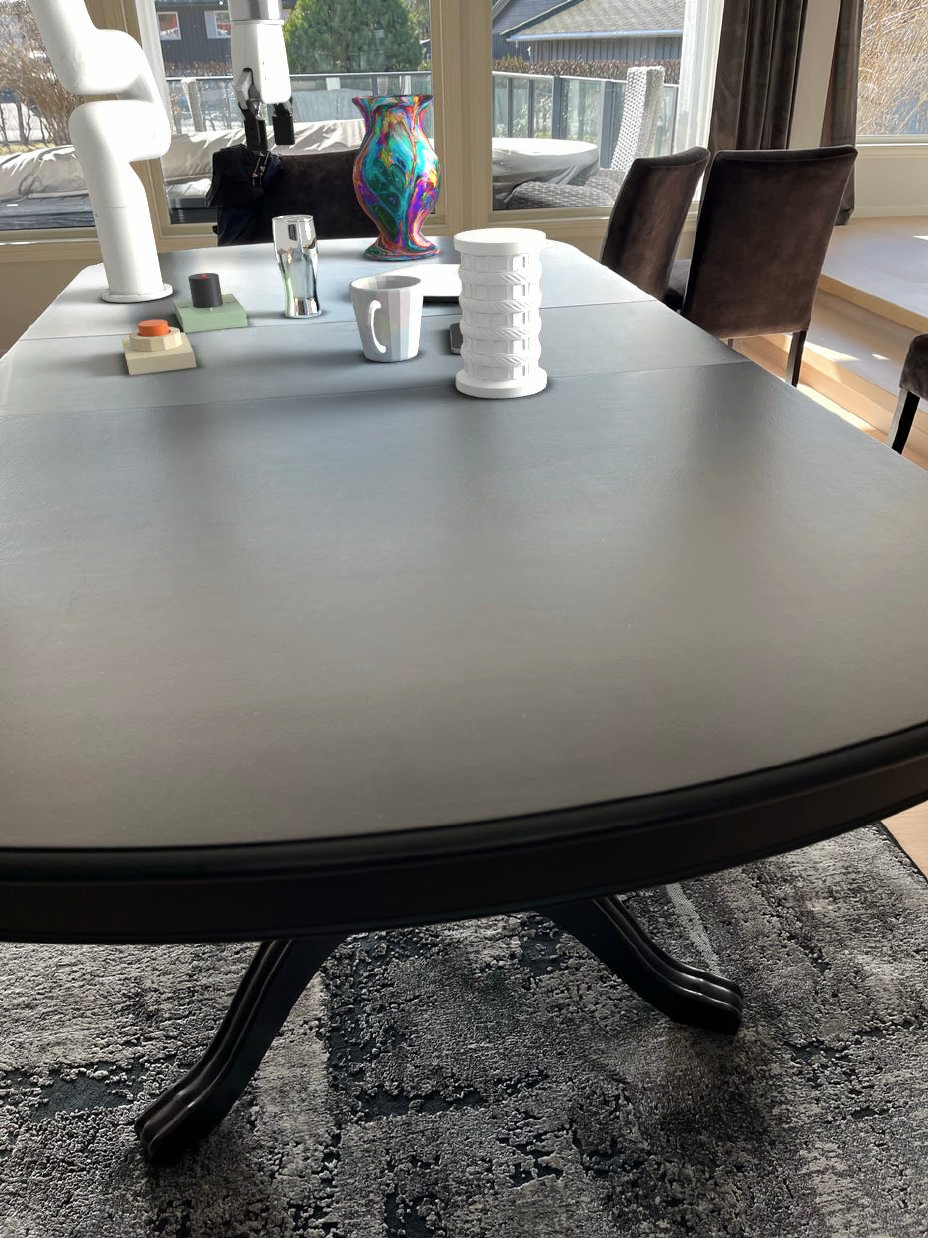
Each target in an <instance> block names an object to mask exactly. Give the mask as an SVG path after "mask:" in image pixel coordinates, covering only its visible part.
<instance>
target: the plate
mask: <svg viewBox="0 0 928 1238" xmlns="http://www.w3.org/2000/svg"><path fill="white" fill-rule="evenodd" d="M459 265H460V263H458V264H457V263H455V264H454V263H453V264H452V263H449V264H447V263H446V264H444V263H442V264H440V263H439V264H438V263H435V264H410V265H405V266H401V267H397V268H394V269H390V270H385V271H383V272H381V273H380V272H379V273H377V274H375V275H374V276H382V275H406V276H413V277H417V278H420V279H422V280H423V281H424V292H423V302H445V303H446V302H459V295H460V292H461V291H462V285H461V280H460V279H459V275H458V268H459Z"/></svg>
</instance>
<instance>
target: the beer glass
mask: <svg viewBox="0 0 928 1238" xmlns="http://www.w3.org/2000/svg"><path fill="white" fill-rule="evenodd" d="M271 221H272V240H273V249H274V250H273V251H274V256H275V261H276V264H277V268H278V271H279V274H280V278H281V281H282V286H283V289H284V297H285V298H284V299H285V301H284V302H285V303H284V316H285V317H287V318H291V319H308V318H314V317H317V316H320V315H321V314H322V313H323V312H322V311H323V310H322V307H321V304H320V300H319V296H318V285H317V284H318V269H319V268H318V266H319V265H318V264H319V248H318V237H317V231H316V226H315V221H314V216H313V215H309V214H291V215H290V214H289V215H281V216H280V215H279V216H275V217H273V218H272V219H271Z"/></svg>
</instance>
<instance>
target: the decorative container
mask: <svg viewBox="0 0 928 1238" xmlns="http://www.w3.org/2000/svg"><path fill="white" fill-rule="evenodd" d="M545 246H546V233H545V232H544V231H542V230H538V229H532V228H522V227H491V228H480V229H479V228H478V229H472V230H471V229H470V230H466V231H462V232H458V233H456V234H454V235H453V248H454V250H455V251H457V252H459V253H460V263H459V268H458V275H459V279H460V280H461V285H462V291H461V292H460V295H459V301H458V303H459V306H460V309H461V311H462V312H461V313H462V315H461V318H460V319H459V321H460V322H459V323H460V330H461V333H462V334H463V344H462V346H461V352H460V353H459V354H460V356H461V359H462V360H463V368H462V369H460V370H459V371H458V372H457V373H456V374H455V387H456V389H457V390H458V391H459V392H461V393H462V394H465V395H468V396H471V397H477V398H483V399H514V398H520V397H526V396H530V395H534V394H536V393H538V392H541V391H542V390H543V389H545V388H546V385H547V372H546V371H545V370H544V369H542V368H541V367H540V366H539V358H540V356H541V353H542V347H541V343H540V341H539V333H540V331H541V328H542V320H541V317H540V315H539V307H540V305H541V302H542V298H543V296H542V291H541V290H540V287H539V285H540V283H539V282H540V279H541V277H542V271H543V268H542V263H541V261H540V250H542V249H544V248H545Z"/></svg>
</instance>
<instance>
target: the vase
mask: <svg viewBox="0 0 928 1238" xmlns="http://www.w3.org/2000/svg"><path fill="white" fill-rule="evenodd" d="M350 99H351V103H352V104H353V105H354V106H355V107H356V108H357V110H358V111H359V112H360V114H361V116H362V118H363V121H364V122H363V123H364V129H365V130H364V131H365V132H364V135H363V137H362V140H361V143H360V146H359V148H358V150H357V153H356V155H355V157H354V160H353V169H352V182H353V187H354V193H355V195H356V199H357V201H358V203H359V205H360V206H361V208H362V210H363V211H364V213H365V214H366V215H367V216H368V217H369V218H370V220H372V221H373V223H374V224H375V225H376V228H377V229H378V232H380V233H379V234H378V235H377V236H378V237H377V238H376V240H375V241H374V242H373V243H372V244H371V245H369V246H368V247H367V248H366V249H365V250H364V251H363V253H362V255H363V257H366V258H369V259H373V260H384V261H402V260H403V261H404V260H405V261H407V260H418V259H425V258H428V257H432V256H435V255H437V254H439V253H441V250H440V248H438V246H436V244H434V243H433V242H431V241H429V240H428V239H427V238H426V237H425V236H424V234H423V233H422V231H421V230H422V228H423V226H424V224H425V221H426V220H427V219H428V217H429V215H430V214H431V213H432V212H433V210H434V208H435V207H436V204H437V202H438V200H439V199H440V198H439V197H440V192H441V188H442V171H441V166H440V165H441V164H440V161H439V157H438V155H437V153H436V151H435V150H434V148H433V146H432V144H431V143H430V141H429V138H428V137H427V134H426V133H425V131H424V117H425V113H426V111H427V109H428V107H429V106H430V104H431V103H432V102H433V100H434V95H432V94H427V93H425V94H423V93H422V94H421V93H420V94H419V93H418V94H417V93H414V94H413V93H412V94H381V95H380V94H379V95H361V96H354V97H353V96H352V98H350Z"/></svg>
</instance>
